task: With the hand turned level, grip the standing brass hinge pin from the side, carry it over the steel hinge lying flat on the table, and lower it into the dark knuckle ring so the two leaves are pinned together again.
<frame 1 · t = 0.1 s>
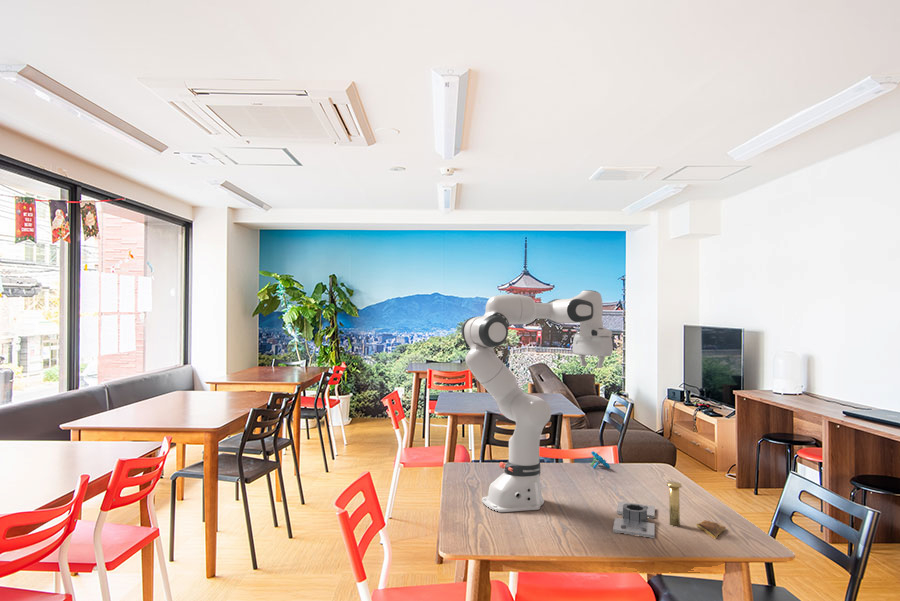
hand: (591, 366, 198), 48 cm above the table, tool pointing down, fingers open, 8 cm apart
hinge pin: (674, 524, 163), on the table
shard: (715, 533, 158), on the table
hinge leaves: (635, 519, 167), on the table
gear: (600, 468, 228), on the table
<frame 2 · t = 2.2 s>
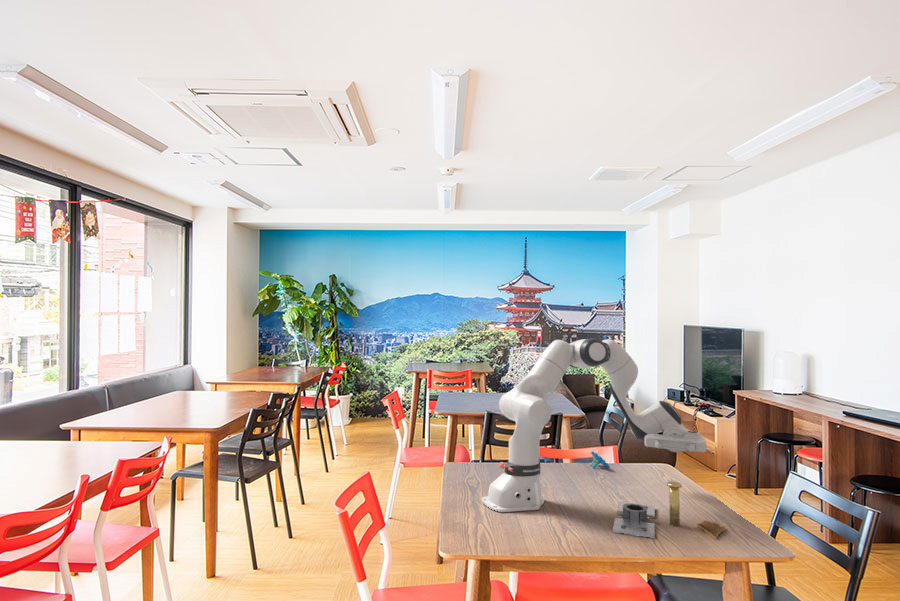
hand: (674, 447, 175), 22 cm above the table, tool horizontal, fingers open, 8 cm apart
nothing on the table moved.
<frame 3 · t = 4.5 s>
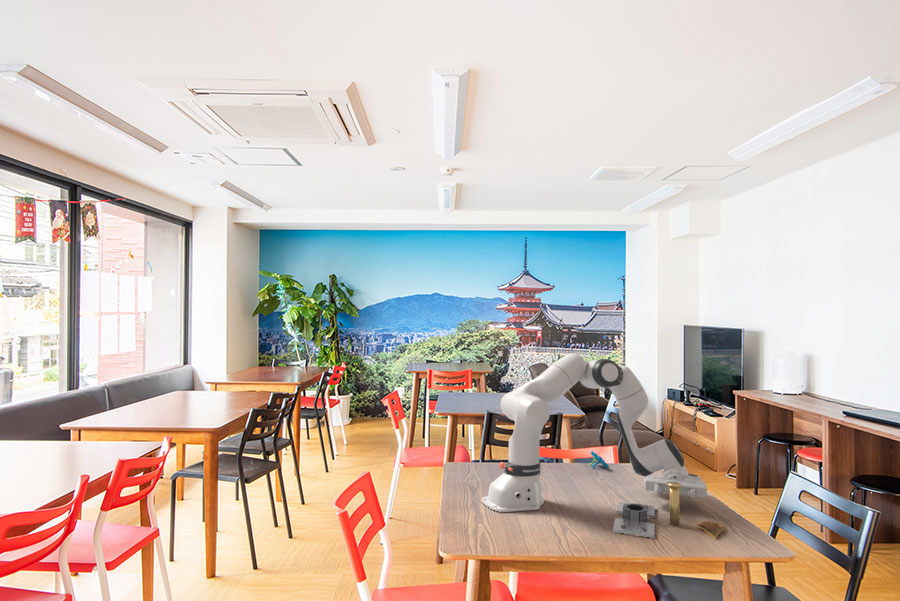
hand: (674, 493, 171), 8 cm above the table, tool horizontal, fingers open, 8 cm apart
nothing on the table moved.
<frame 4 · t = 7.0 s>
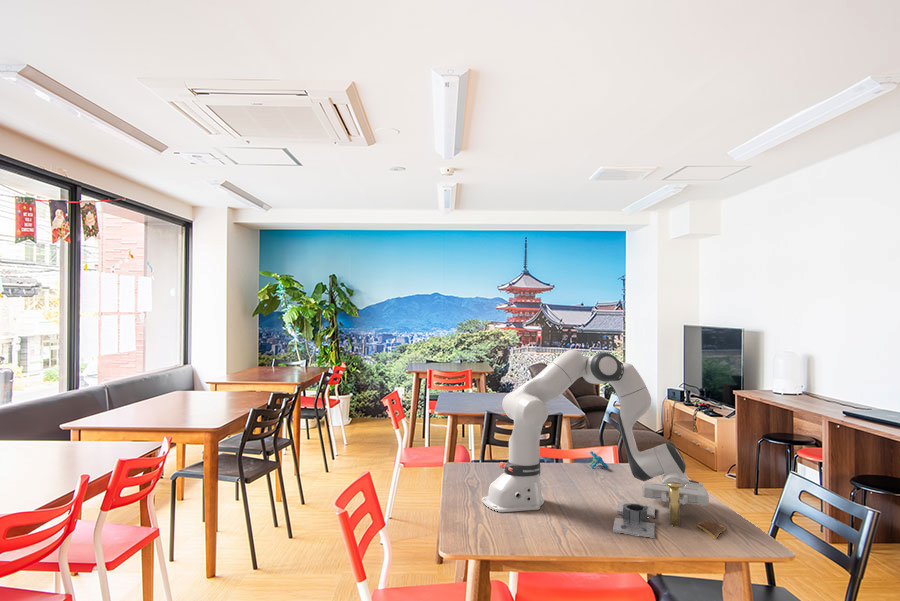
hand: (674, 501, 162), 8 cm above the table, tool horizontal, fingers closed on hinge pin, 3 cm apart
hinge pin: (674, 524, 163), on the table, touching gripper
everything else where it was.
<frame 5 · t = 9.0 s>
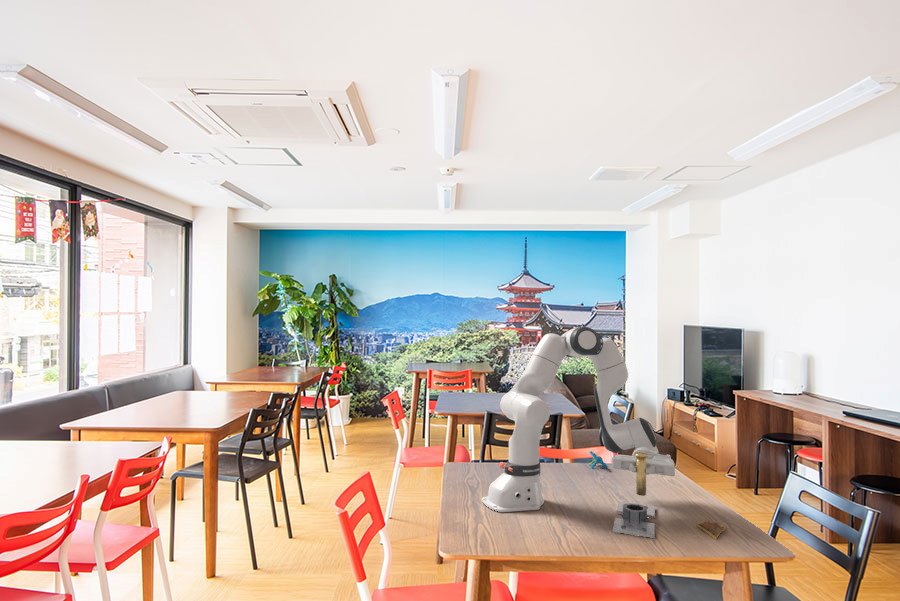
hand: (640, 470, 166), 17 cm above the table, tool horizontal, fingers closed on hinge pin, 3 cm apart
hinge pin: (641, 494, 166), point 9 cm above the table, touching gripper
everything else where it was.
when the fingers open (10 cm above the table, at t = 11.2 s): hinge pin drops 2 cm, resting in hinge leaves.
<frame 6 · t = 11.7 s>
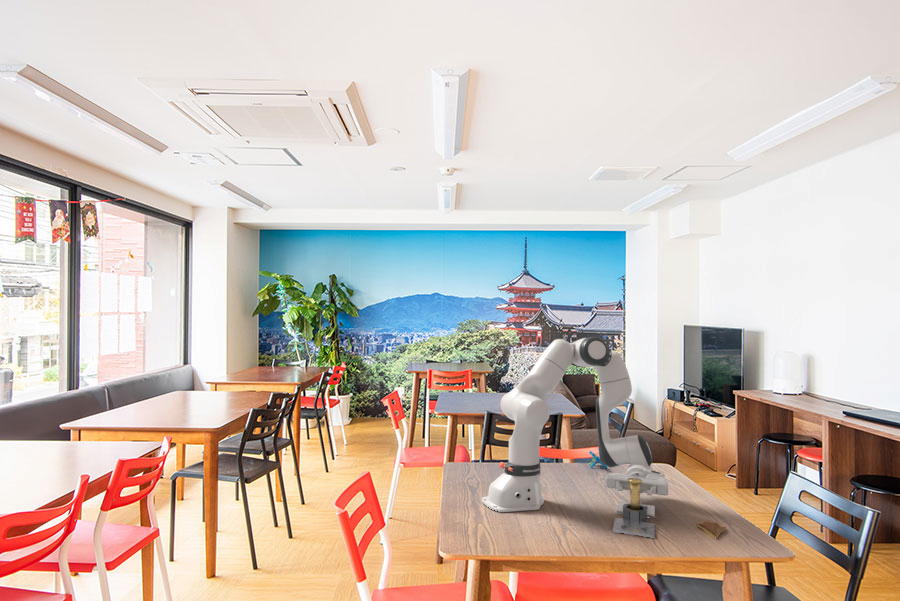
hand: (634, 490, 166), 10 cm above the table, tool horizontal, fingers open, 8 cm apart
hinge pin: (635, 520, 167), resting in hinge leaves
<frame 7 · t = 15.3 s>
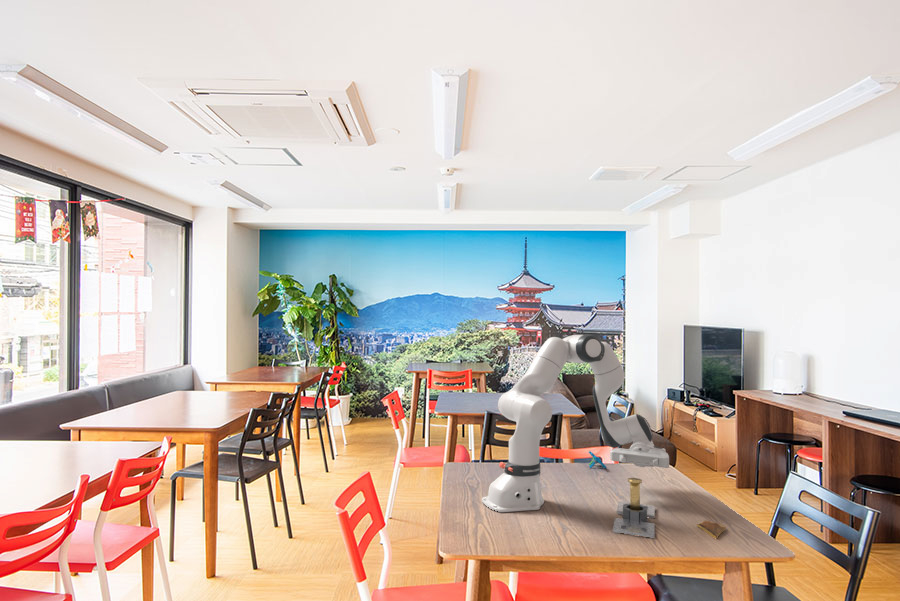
hand: (637, 462, 178), 16 cm above the table, tool horizontal, fingers open, 8 cm apart
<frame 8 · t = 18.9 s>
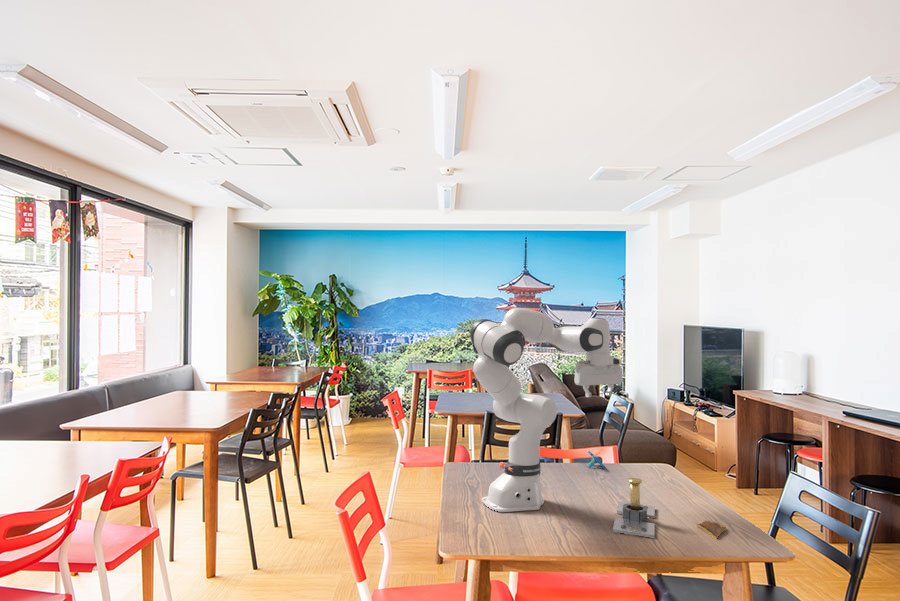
hand: (598, 396, 192), 37 cm above the table, tool pointing down, fingers open, 8 cm apart
at the end: hinge pin 0.0 cm off-centre on the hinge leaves, point 0.0 cm above the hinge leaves's base; hinge pin tilted 0°; the gripper is holding nothing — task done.
